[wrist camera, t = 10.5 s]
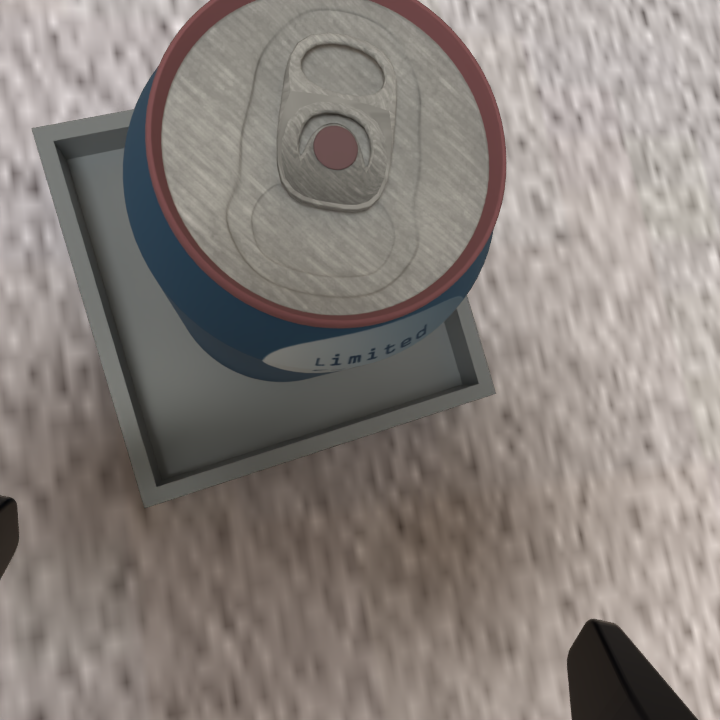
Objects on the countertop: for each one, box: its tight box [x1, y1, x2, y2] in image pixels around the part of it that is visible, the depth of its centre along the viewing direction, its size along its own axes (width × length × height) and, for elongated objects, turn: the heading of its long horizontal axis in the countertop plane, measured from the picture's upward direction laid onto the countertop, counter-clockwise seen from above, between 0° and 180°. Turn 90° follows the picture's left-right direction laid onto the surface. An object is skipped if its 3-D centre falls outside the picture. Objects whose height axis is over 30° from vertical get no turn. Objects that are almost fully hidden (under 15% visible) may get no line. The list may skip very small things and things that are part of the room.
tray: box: [31, 109, 496, 508], centre depth 21 cm, size 12×12×2 cm
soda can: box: [123, 0, 506, 382], centre depth 15 cm, size 7×7×12 cm
